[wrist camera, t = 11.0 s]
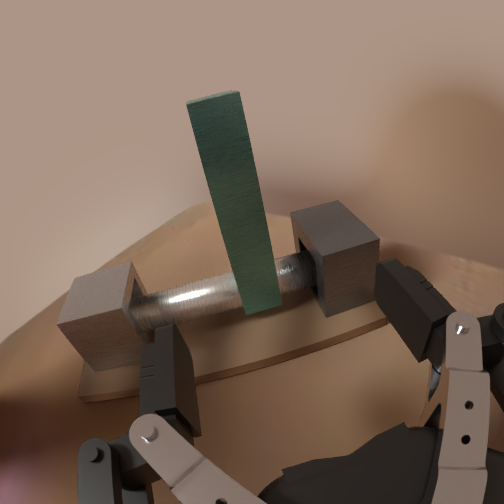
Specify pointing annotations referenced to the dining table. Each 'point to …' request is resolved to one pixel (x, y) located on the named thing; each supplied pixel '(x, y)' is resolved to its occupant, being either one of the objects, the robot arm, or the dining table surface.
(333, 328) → the walnut board
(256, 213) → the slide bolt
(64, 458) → the dining table surface
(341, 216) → the sleeve and socket
